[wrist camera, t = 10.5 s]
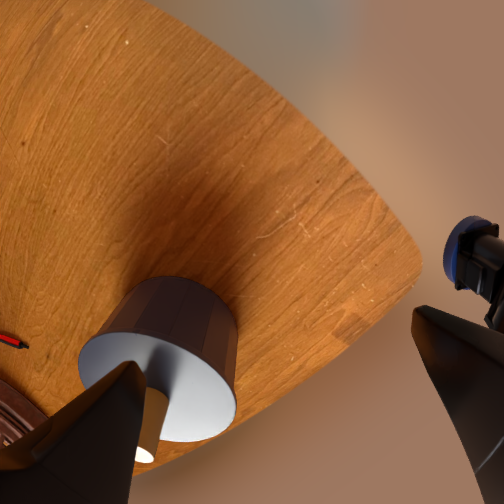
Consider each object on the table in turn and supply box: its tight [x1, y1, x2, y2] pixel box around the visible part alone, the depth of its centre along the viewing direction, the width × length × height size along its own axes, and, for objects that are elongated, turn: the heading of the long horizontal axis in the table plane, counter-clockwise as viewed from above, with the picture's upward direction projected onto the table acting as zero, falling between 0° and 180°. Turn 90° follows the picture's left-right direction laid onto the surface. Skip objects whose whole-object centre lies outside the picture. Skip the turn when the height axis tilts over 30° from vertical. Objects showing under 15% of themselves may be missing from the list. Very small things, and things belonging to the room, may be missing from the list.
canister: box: [97, 276, 238, 388], centre depth 20 cm, size 10×10×8 cm
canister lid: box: [78, 327, 237, 463], centre depth 14 cm, size 11×11×6 cm
